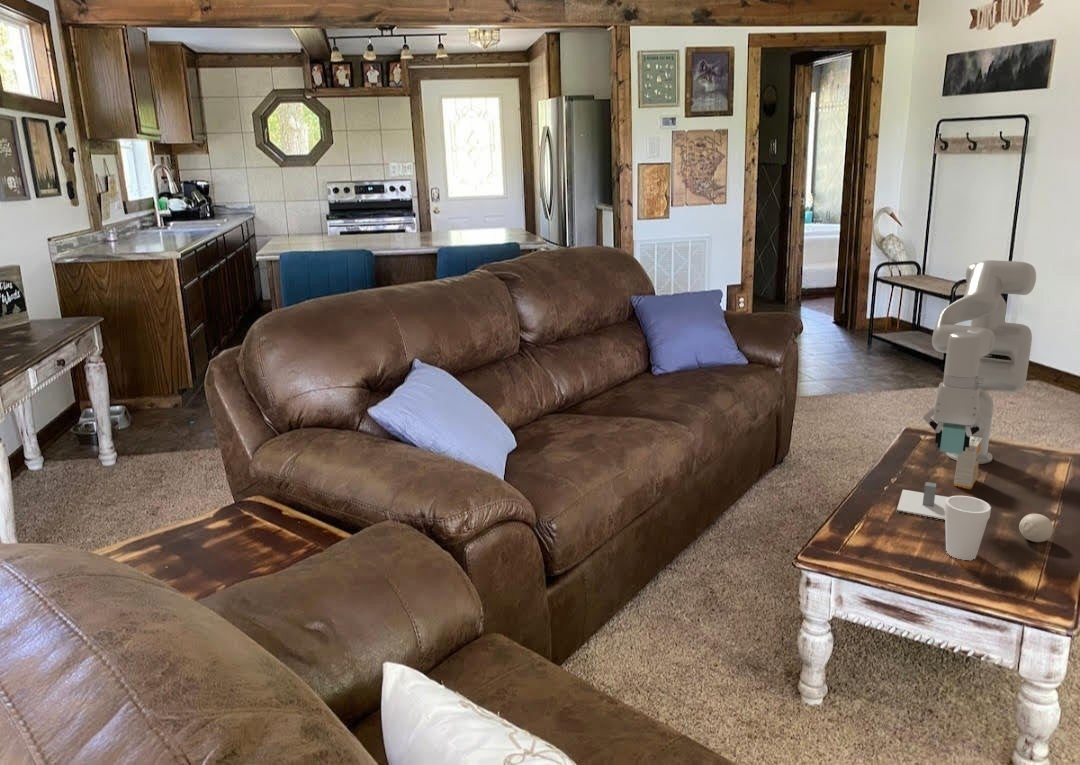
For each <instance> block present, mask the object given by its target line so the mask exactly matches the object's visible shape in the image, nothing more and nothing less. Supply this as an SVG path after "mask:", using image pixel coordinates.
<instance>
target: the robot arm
mask: <svg viewBox="0 0 1080 765" xmlns="http://www.w3.org/2000/svg"><path fill="white" fill-rule="evenodd" d="M965 281H966V287H965V290H964V294H963V297H961V298H959V299H957V300H955V301H954V302H952V303H951V304H949V305H947V306H946V307H945V308H944V309H943V310H942V311H941V312H940V313H939V316H938V318H937V319H936V323H935V326H934V329H933V332H932V337H931V345H932V348H933V349H934V350H935V351H936V352H939V353H944V354H946V356H945V364H944V369H943V370H944V371H943V372H944V373H943V378H942V379H943V380H942V382H939V383H938V384H939V385H938V386H937V390H936V396H935V399H934V400H935V401H934V406H933V407H932V408H931V409H930V410H929V411H928V412H926V413H925V414H923V416H922V419H923V421H925V422H926V423H927V424H928V425H929V426H930V427H931V428H932V429H933V430H934V431H935V438H934V444H937V448H939V449H940V445H941V437H942V429H943V425H944V423H947V424H956V425H964V426H965V429H966V431H965V438H964V446H963V451H965V449H966V447H969V442H970V437H971V436H973V437H979V438H982V445H981V452H980V458H979V465H982V464H988V463H990V462H992V460H993V455H992V453H990V452H989V451H988V448H989V444H990V443H989V441H990V435H991V434H990V433H991V429H992V428H991V427H992V421H993V415H994V414H993V413H994V400H993V398H992V397H991V395H990V394H989V391H993V392H997V393H998V392H999V393H1004V394H1005V393H1006V394H1018V393H1019V394H1020V392H1022V391H1023V390H1024V388H1025V386H1026V381H1027V376H1028V369H1029V363H1030V355H1031V351H1032V350H1031V349H1032V341H1033V339H1032V338H1033V337H1032V336H1033V334H1032V330H1031V328H1030V327H1029V326H1028V325H1026V324H1023V323H1015V322H1014V323H1013V322H1006V314H1007V307H1008V306H1007V303H1006V300H1005V299H1004V297H1003V296H1002V294H1005V295H1016V296H1017V295H1019V296H1026V295H1029V294H1030V293H1032V291H1033V289H1034V288H1035V285H1036V281H1037V272H1036V268H1035V267H1034V266H1033V265H1032V264H1030V263H1027V262H1024V261H1016V260H1015V261H1013V260H993V259H992V260H989V259H988V260H983V261H978V262H976V263H972V264H969V266H968V267H967V268H966V272H965ZM967 321H970V326H969V325H959V324H960V323H962V322H967ZM989 354H991V355H999V356H1007V357H1009V358H1010V359H1011V360H1009V359H1000V358H994V357H993V358H992V357H986V356H987V355H989ZM932 417H933V419H932ZM945 454H946V456H947V457H948V458H950V459H952V460H954V461H956V462H957V457H958V454H956V453H948V452H945Z"/></svg>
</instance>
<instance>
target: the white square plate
mask: <svg viewBox="0 0 1080 765" xmlns="http://www.w3.org/2000/svg"><path fill="white" fill-rule="evenodd" d="M936 491H937V483H936V482H929V481H928V482H927V481H925V483H924V491H923V492H920V491H915V490H910V489H909V490H908V489H902V491H901V494H900V496H899V501H898V505H897V508H896V511H897V510H898V511H903V512H907V513H913V514H918V515H923V516H928V517H934V518H938V519H944V520H945V511H944V505H945V500H946V499H947V498H948V497H949V496H945V495H938V494H936ZM938 519H937V520H938Z"/></svg>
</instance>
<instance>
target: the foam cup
mask: <svg viewBox="0 0 1080 765" xmlns="http://www.w3.org/2000/svg"><path fill="white" fill-rule="evenodd" d="M947 497H948V498H947V499H946V500H945V505H944V511H945V521H944V522H945V523H944V526H945V527H944V528H945V552H946V551H947V552H946V554H947V553H948V554H949V555H950V557H951V556H952V557H951V558H953V557H954V558H953V559H955V558H957V559H956V560H958V559H962V560H961V561H964V560H969V561H973V559H974V560H975V559H976V558H977V555H978V553H979V549H980V546H981V543H982V539H983V536H984V534H985V530H986V526H987V524H988V521H989V519H990V517H991V511H992V506H991V505H990V504H989V502H986V501H985V500H983V499H980V498H977V497H974V496H967V495H950V496H947ZM948 554H947V555H948ZM949 555H948V556H949Z"/></svg>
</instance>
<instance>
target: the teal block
mask: <svg viewBox="0 0 1080 765" xmlns="http://www.w3.org/2000/svg"><path fill="white" fill-rule="evenodd" d="M965 431H966V429H965V426H964V425H956V424H947V423H944V425H943V427H942V437H941V445H940V448H939V452H943V453H946V452H948V453H956V454H962V453H963V446H964V438H965Z"/></svg>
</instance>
